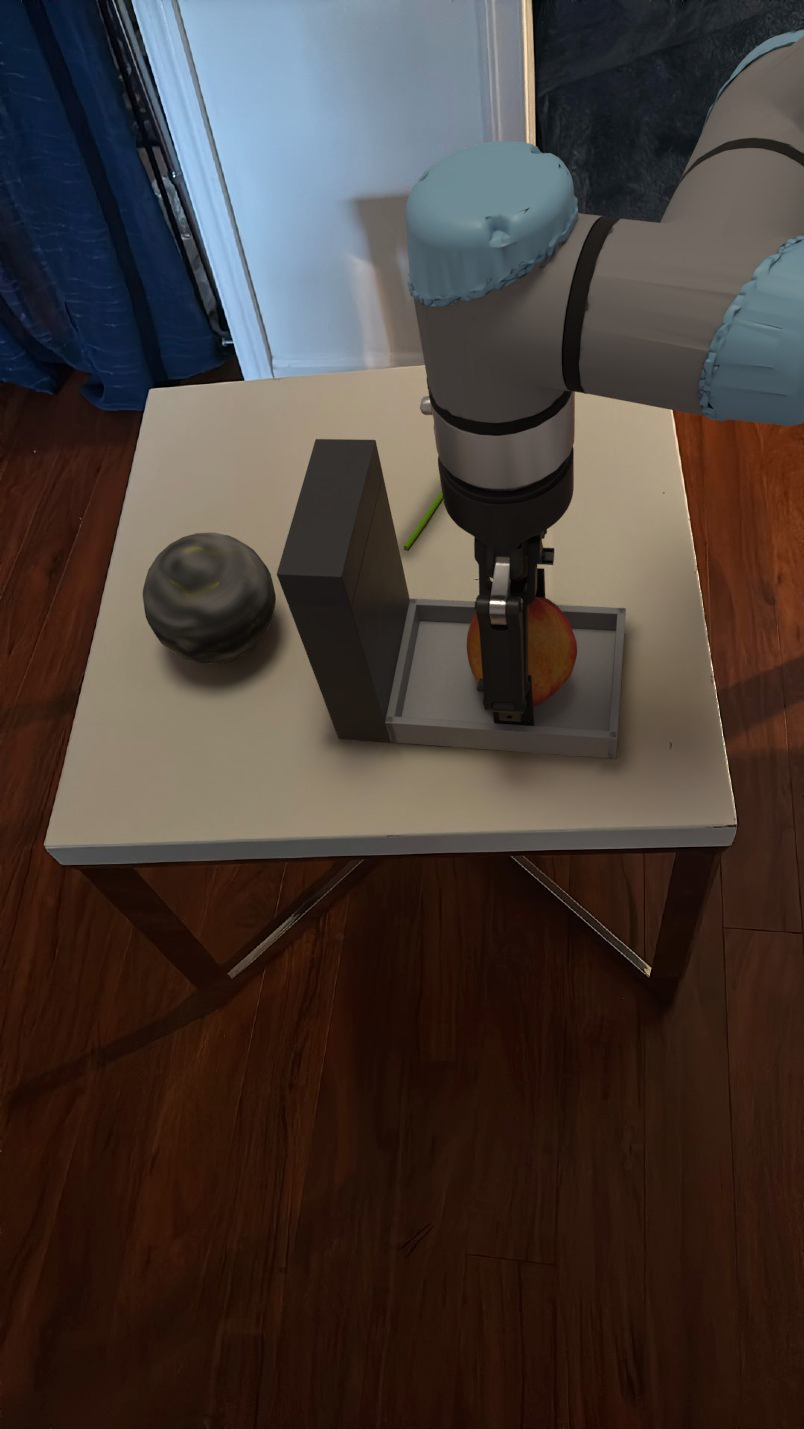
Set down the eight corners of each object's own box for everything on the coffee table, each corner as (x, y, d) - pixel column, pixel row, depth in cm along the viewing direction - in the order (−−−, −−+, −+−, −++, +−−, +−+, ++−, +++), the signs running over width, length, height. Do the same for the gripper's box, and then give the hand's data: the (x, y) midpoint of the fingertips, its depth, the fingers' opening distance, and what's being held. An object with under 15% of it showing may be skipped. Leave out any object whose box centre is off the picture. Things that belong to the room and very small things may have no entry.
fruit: (592, 651, 77) (593, 581, 70) (554, 739, 73) (552, 675, 66) (493, 624, 79) (485, 555, 73) (451, 708, 76) (439, 644, 69)
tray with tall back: (624, 630, 79) (637, 442, 63) (615, 759, 73) (627, 588, 57) (365, 617, 83) (315, 438, 67) (338, 738, 77) (276, 574, 61)
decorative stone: (267, 696, 80) (231, 617, 72) (150, 681, 82) (102, 603, 74) (303, 594, 85) (274, 509, 76) (191, 583, 87) (151, 499, 79)
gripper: (462, 321, 63) (488, 563, 82) (406, 595, 53) (450, 801, 72) (587, 320, 62) (584, 567, 81) (556, 602, 51) (560, 810, 70)
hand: (521, 676), depth 76 cm, fingers closed on fruit, 8 cm apart
